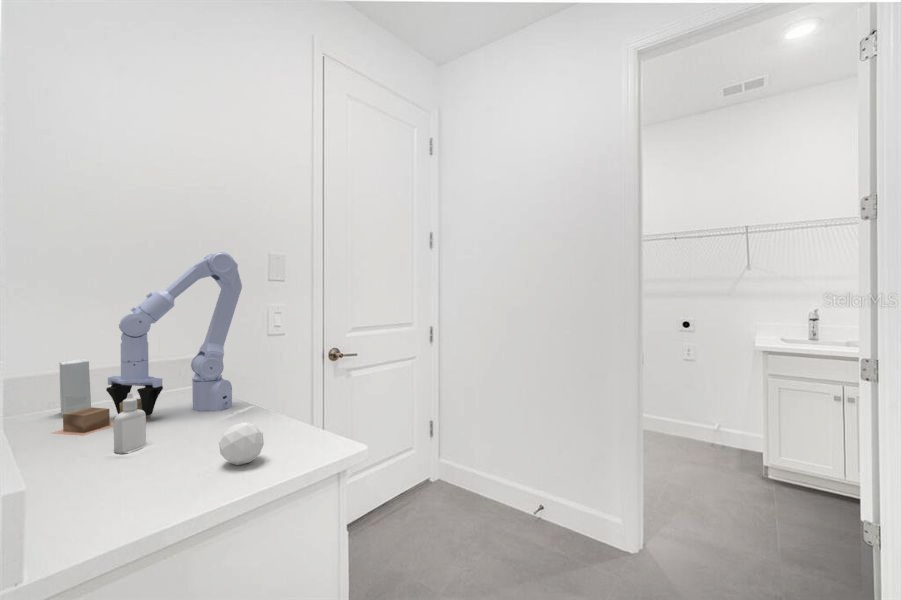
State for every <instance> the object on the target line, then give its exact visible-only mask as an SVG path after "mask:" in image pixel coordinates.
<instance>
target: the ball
mask: <svg viewBox="0 0 901 600" xmlns="http://www.w3.org/2000/svg"><path fill="white" fill-rule="evenodd" d="M263 434H264V433H263V432H262V431H261V429H259V427H258V426H257V425H256V424H252V423H249V422H246V421H245V422H241V423H237V424H234V425H231V427H229V428H228V429H227V430H225V431H223V434H222V436H221V438H220V440H219V442H218V445H219V453H220V455H221V456H222V458H223V459H224V460H225V461H227V463H230V464H233V465H236V466H240V465H241V466H242V465H245V464H248V463H250V462H252V461H253V460H255V459H256V458H257V457H258V456H260V455H261V452H262V449H263V447H264V444H265V442H264V435H263Z"/></svg>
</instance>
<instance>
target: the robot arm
mask: <svg viewBox="0 0 901 600" xmlns="http://www.w3.org/2000/svg"><path fill="white" fill-rule="evenodd" d="M238 265H239V264H238V263H237V262H236V261H235V259H234V258H233V256H231V254H229V253H227V252H225V251H224V252H223V251H218V252H215V253H210V254H208V255H206V256H205V257H204V258H203V259H200V260H199V261H197V262H195V263H194V264H193V265H192V266H191V265H190V267H189V268H187V270H185V271H184V272H183V273H182V274H181V275H180V276H179V277H177V279H175V280H174V281H173V282H172V283H171V284H170V285H169V286H168V287H167V288H166V289H164V290H155V291H153V293H152V292H148V293H147V294H146V297H147V298H145V299H144V300H143V301H142V302H141V303H139V304H138V305H137V306H136V307H134V306H133V307H132V308H131V309H130V311H131V313H127V314H125V315H124V316H123V317H122V318H121V319H120V322H119V323H118V328H119V329H120V331H121V336H120V340H121V343H120V375H113V376H109V377H108V376H107V385H108V386H109V387H106V389H105V391H106V392H107V393H108V394H109V396H110V397H111V399H112V402H113V403H114V407H115V410H116V412H117V415H118V414H120V403H121V402H123V400H125V399H126V398H127V395H128V393H131V391H132V388H133V386H135V387H136V386H137V387H141V388H137V393H138V396H139V399H141V403H142V410H143V411H144V412H145V414H146V416H147V415H151V416H152V414H153V412H154V409H155V406H156V402H157V400H158V397H159V396H160V394H161V392H162V391H163V389H164V386H163V378H160V377H154V376H150V375H149V371H150V370H149V341H148V332H150V329H151V325H152V324H156V323H157V322H158V321H160V319H161V318H163V317H164V316H165V315H166V314H167V313H168V312H170V310H172V309H173V308H174V307H175V299H176V298H178V297H179V296H180V295H182V293H184V292H185V291H186V290H187V289H188V288H189V289H190V287H191V286H192V285H194V284H195V283H196V282H197V281H199V280H201V279H204V278H208V277H211V278H212V279H213V280H214V281H215V282H216V284H217V285H218V287H219V288H220V292H219V295H218V298H217V301H216V304H215V307H214V310H213V314H212V317H211V319H210V323H209V325H208V328H207V333H206V335H205V338H204V341H203V343H202V344H201V346H200V348H199V349H198V353H197V354H196V355H195V356H194V357H193V358H192V360H191V363H190V367H191V371H192V372H193V373H194V375H193V377H192V384H191V385H192V386H191V387H192V411H196V412H220V411H223V410H227V409H229V408H231V407H233V387H232V386H233V385H232V382H231V381H230V380H228V379H224V378H223V374H222V373H223V372H224V361H223V360H224V356H225V349H224V347H225V343H226V340H227V336H228V333H229V330H230V326H231V323H232V321H233V317H234V315H235V312H236V308H237V304H238V301H239V298H240V296H241V291H242V288H243V283H242V280H241V276H240V274H239V269H238V267H239V266H238Z"/></svg>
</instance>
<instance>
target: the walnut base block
mask: <svg viewBox="0 0 901 600" xmlns="http://www.w3.org/2000/svg"><path fill="white" fill-rule="evenodd" d="M110 415H111V414H110V408H104V407H92V406H91V407H89V408H85V409H81V410H77V411H73V412H69V413H65V414H63V416H62V428H63V429H62V430H63V431H66V432H78V433H86V432H89V431H93V430H96V429H99V428H102V427H105V426H109V425H110V423H111V421H110Z"/></svg>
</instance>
